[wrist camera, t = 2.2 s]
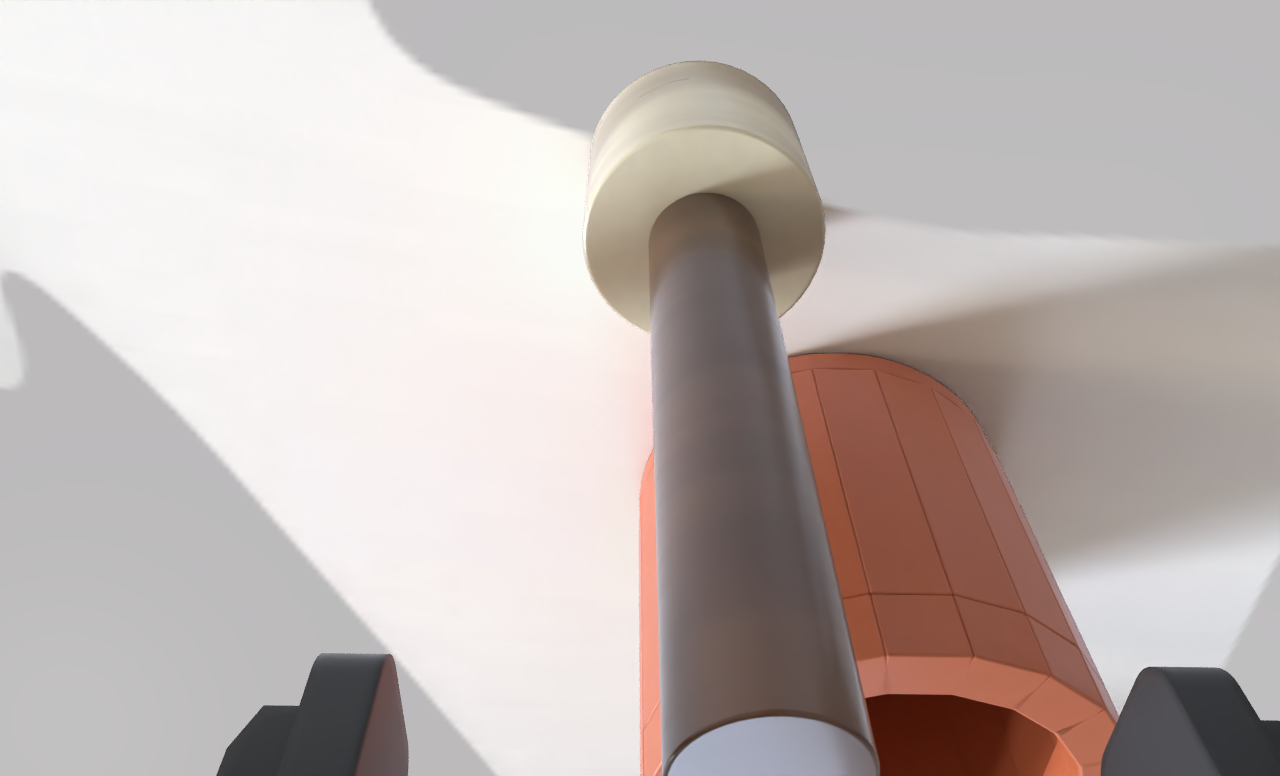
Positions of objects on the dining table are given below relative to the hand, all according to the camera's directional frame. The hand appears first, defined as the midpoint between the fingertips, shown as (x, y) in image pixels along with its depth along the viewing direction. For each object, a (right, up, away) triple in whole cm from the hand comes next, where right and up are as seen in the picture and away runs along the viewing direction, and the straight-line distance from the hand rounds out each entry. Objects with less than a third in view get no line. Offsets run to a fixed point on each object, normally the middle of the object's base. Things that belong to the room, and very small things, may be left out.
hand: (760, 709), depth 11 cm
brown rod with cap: (0, +9, +12) cm, 15 cm away
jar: (+4, 0, +18) cm, 18 cm away
